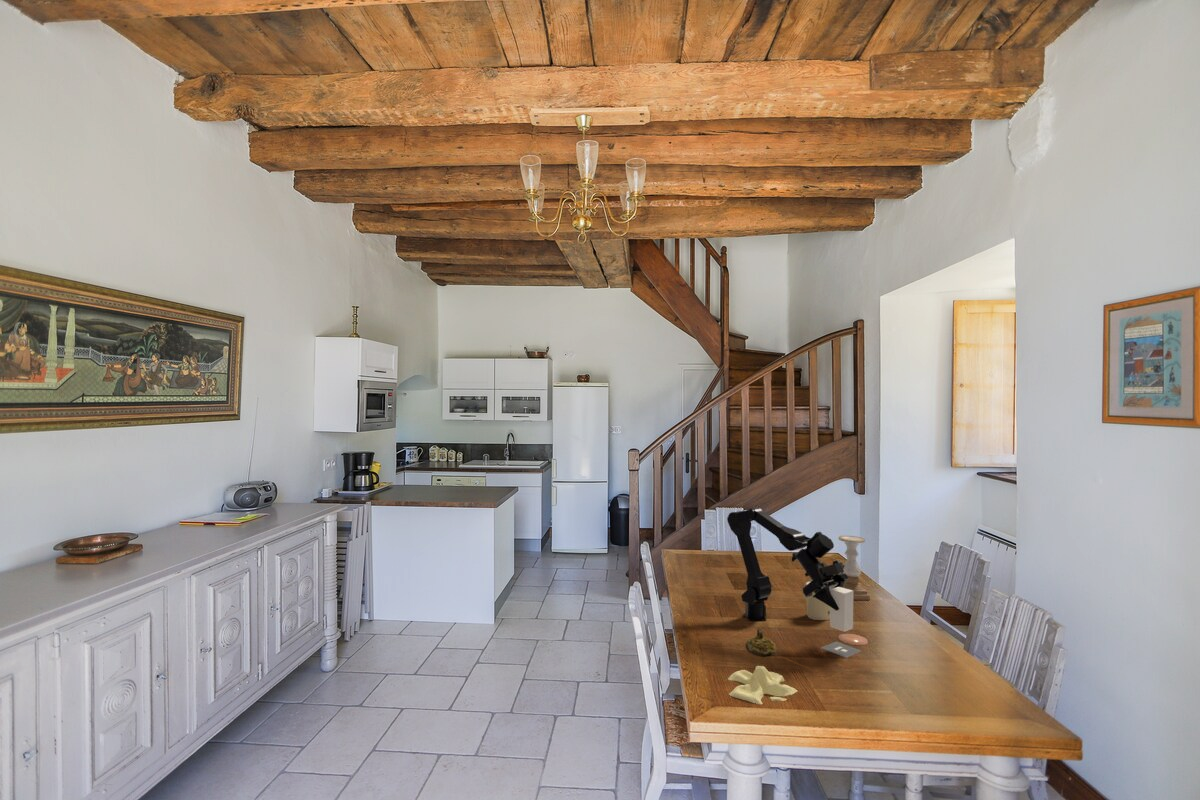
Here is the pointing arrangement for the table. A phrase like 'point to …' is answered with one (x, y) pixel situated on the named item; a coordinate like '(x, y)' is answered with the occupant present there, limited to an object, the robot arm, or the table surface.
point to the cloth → (759, 685)
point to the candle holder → (853, 568)
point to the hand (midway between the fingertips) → (842, 608)
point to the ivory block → (842, 609)
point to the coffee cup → (817, 608)
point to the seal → (761, 645)
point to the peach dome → (853, 639)
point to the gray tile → (841, 649)
